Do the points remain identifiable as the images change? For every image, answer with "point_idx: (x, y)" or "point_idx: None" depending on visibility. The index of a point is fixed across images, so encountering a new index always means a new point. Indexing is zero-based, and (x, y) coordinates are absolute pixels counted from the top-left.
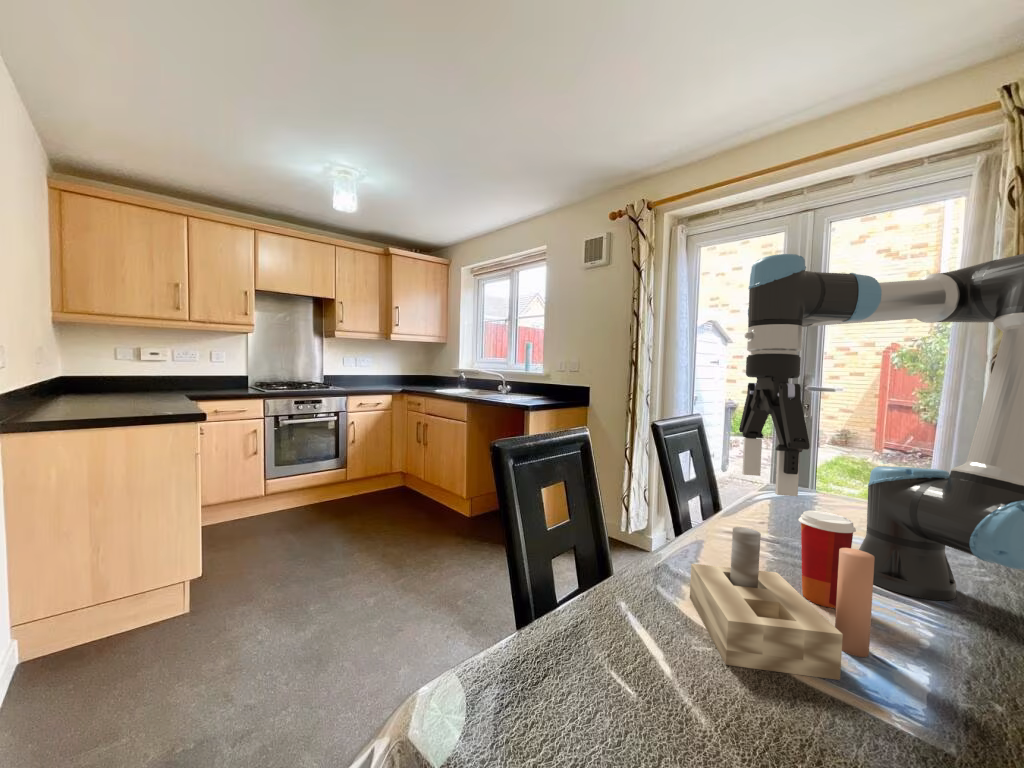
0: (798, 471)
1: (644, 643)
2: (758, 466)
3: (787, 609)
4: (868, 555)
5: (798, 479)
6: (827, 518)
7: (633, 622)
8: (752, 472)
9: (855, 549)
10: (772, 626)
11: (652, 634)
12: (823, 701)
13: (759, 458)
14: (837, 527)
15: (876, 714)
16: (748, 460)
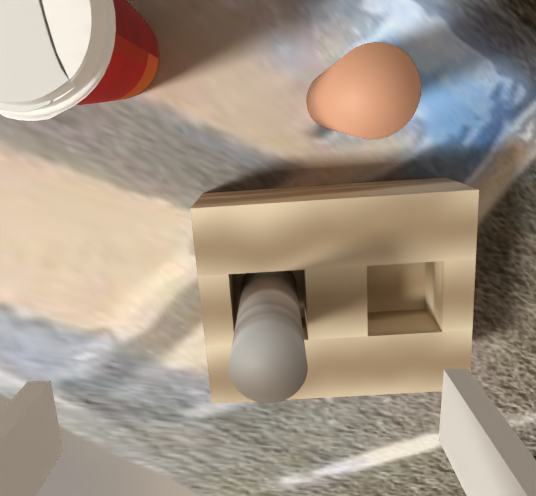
0: (524, 445)
1: (408, 456)
2: (29, 421)
3: (396, 260)
4: (384, 59)
5: (499, 414)
6: (29, 21)
7: (349, 467)
8: (50, 424)
9: (336, 74)
10: (471, 315)
11: (379, 442)
12: (504, 230)
13: (2, 450)
14: (101, 16)
15: (522, 161)
16: (23, 492)
